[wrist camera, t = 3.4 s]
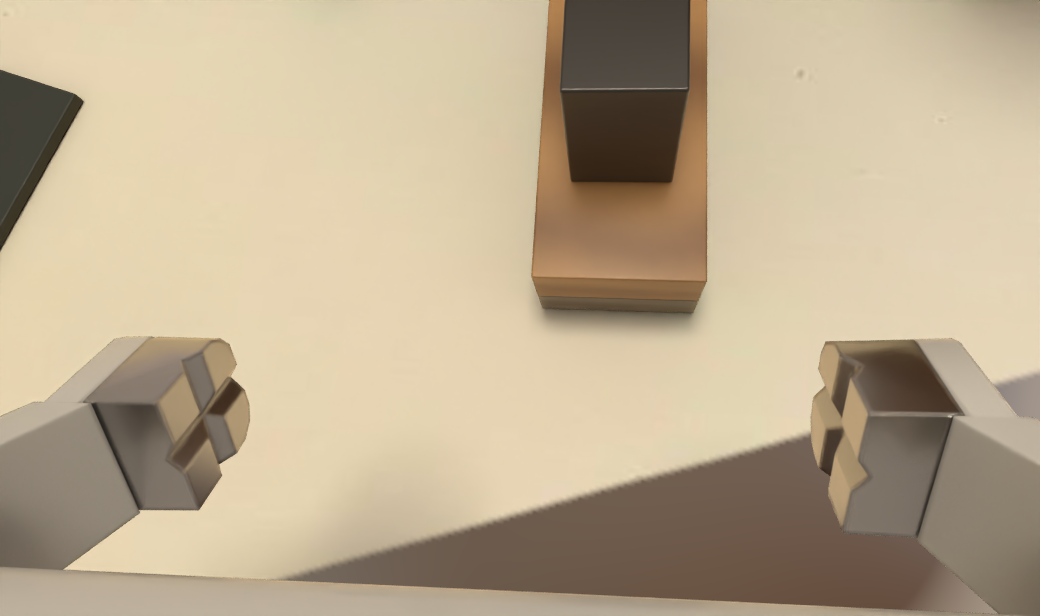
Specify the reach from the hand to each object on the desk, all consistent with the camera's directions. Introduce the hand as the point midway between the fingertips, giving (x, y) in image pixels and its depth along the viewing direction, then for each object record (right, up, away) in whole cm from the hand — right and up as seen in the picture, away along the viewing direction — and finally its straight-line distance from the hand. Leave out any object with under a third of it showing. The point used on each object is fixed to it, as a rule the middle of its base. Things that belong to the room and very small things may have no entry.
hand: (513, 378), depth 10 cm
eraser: (+4, +7, +16) cm, 17 cm away
